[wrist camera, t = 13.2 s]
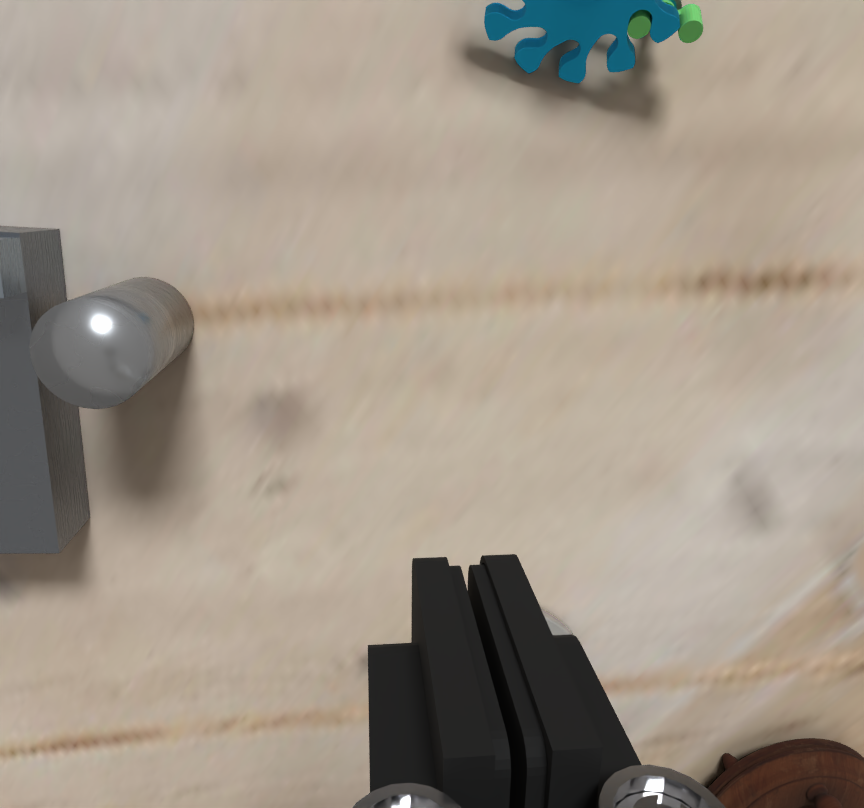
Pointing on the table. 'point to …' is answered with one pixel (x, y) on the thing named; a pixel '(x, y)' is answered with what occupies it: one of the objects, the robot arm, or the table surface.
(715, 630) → the table surface
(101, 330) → the metal cylinder plug
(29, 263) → the jig
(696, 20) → the blue spiky piece
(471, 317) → the table surface
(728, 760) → the brown spool rack
